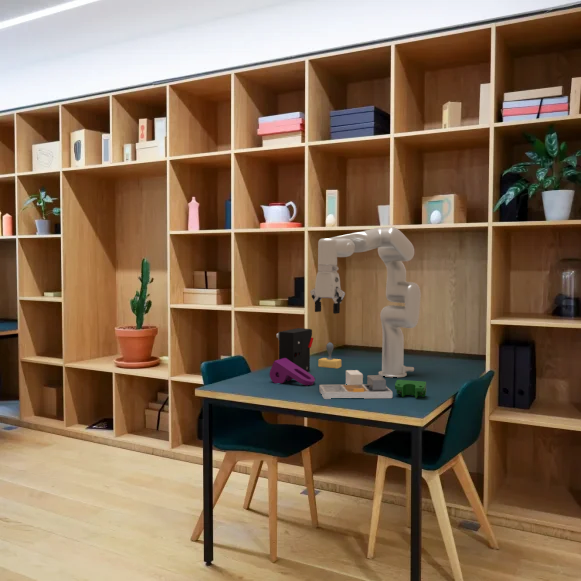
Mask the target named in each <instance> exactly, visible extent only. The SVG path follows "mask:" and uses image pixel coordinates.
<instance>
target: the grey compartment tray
mask: <svg viewBox="0 0 581 581" xmlns="http://www.w3.org/2000/svg"><path fill="white" fill-rule="evenodd" d="M366 378H367V380H366V381H367V382H366V383H367V384H365V383H363V384H347V385H346V384H319V388H318V391H319V393H320V395H321V394H322V395H321V396H322V398H323V399H324V400H332V399H331V398H364V399H392V398H393V391H392V390H391V389H390V387H388V386H387V380H386V379H385V378H384V377H383V376H380V375H379V374H376V375H374V374H373V375H369V374H368V375H367V377H366Z"/></svg>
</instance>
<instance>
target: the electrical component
mask: <svg viewBox="0 0 581 581" xmlns="http://www.w3.org/2000/svg"><path fill="white" fill-rule="evenodd" d="M312 336H313V329H311V328H303V327H302V328H301V327H298V328H291V329H287V330H283V331H278V333H276V338H277V339H278V340H277V341H279V342H278V360H279V359H283V358H287V359H288V360H290V361H291V362H293V363H294V364H296V365H297V366H299V367H300V368H302V369H304V370H305V371H307V372H308V373H310V371H311V367H310V363H311V348H312V346H313V342H314V337H312Z"/></svg>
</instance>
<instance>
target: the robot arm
mask: <svg viewBox="0 0 581 581" xmlns="http://www.w3.org/2000/svg"><path fill="white" fill-rule="evenodd" d="M317 244H318V246H317V248H318V249H317V254H318V255H317V272H316V276H315V284H314V286H315V287H314V288H312V289H311V290H310V291H309V293H310V295H311V298H312V301H313V302H314V312H315V313H320V312H322V302H321V300H322V299H332V301H333V302H334V303H332V304H333V305H332V308H333V309H332V311H333V314H335V315H336V314H340V312H341V305H340V304H342V301H343V300H344V298H345V295H346V292H345V291H343V289H342V288H341V278H340V274H339V272H338V271H339V266H338V258H347V257H351V256H352V255H353V254H354V253H363V252H368V251H371V250H374V249H377V254H378V256H379V258H380V259H381V261H383V263H384V266H385V268H386V283H385V284H386V285H385V298H386V299H387V301H389V302H390V303H398V304H399V303H400V304H404V305H396V304H395V305H394V304H393V305H389V304H388V305H385V306H384V307H383V308H382V309H381V311H380V313H379V314H380V322H381V330H382V332H381V334H382V340H381V342H382V343H381V348H382V349H381V351H382V352H381V370H380V371H378V375H380V376H382V377H383V376H385V378H393V377H397V378H405V377H406V376H407V372H414V371H415V367H413V366H406V365H404V354H405V353H404V346H405V342H404V341H405V340H404V339H405V338H404V337H405V335H404V333H403V331H402V328H405V329H413V328H415V327H416V326H417V324H419V323H418V322H419V320H420V308H421V298H422V297H421V296H422V294H421V288H420V285H419V284H417V283H416V282H415V281H414V282H413V281H407V269H406V267H405V264H404V263H403V262H409V261H411V260H412V259H413V258H414V255H415V247H414V245H413V243H412V242H411V241H410V240H409V238H408V237H407V236H406V235H405V234H404V233H403V232H402V231H401V230H399V229H398V228H396V227H395V226H388V227H384V226H383V227H381V226H380V227H374V228H371V229H366V230H363V231H357V232H352V233H347V234H343V235H337V236H332V237H329V238H325V237H324V238H323V237H322V238H320V239H319V240H318V243H317Z"/></svg>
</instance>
